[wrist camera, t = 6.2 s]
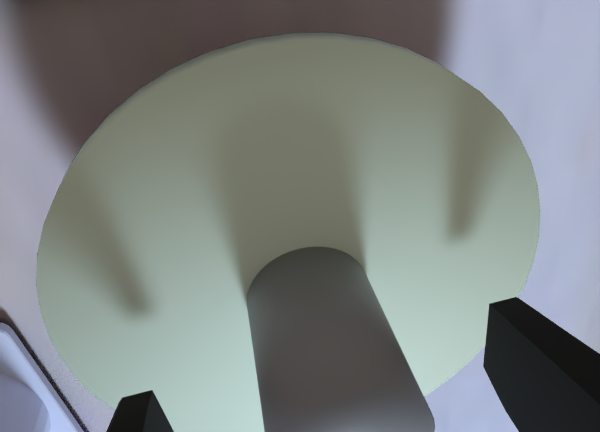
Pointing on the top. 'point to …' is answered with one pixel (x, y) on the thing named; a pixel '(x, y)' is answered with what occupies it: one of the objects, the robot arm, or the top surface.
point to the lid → (288, 238)
